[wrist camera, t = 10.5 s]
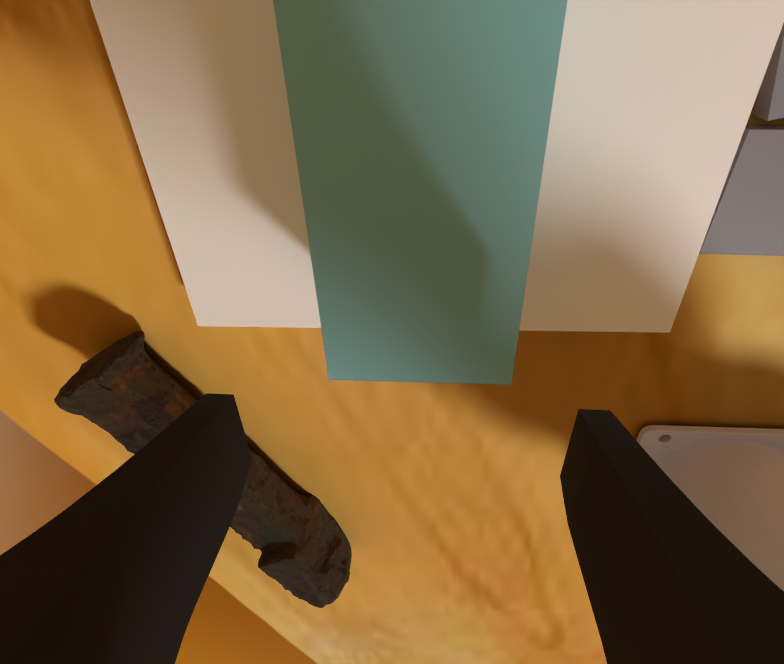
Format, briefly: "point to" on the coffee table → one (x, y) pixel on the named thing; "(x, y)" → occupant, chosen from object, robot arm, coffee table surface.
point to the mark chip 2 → (772, 85)
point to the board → (560, 169)
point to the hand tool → (263, 485)
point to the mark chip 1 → (751, 198)
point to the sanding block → (420, 176)
